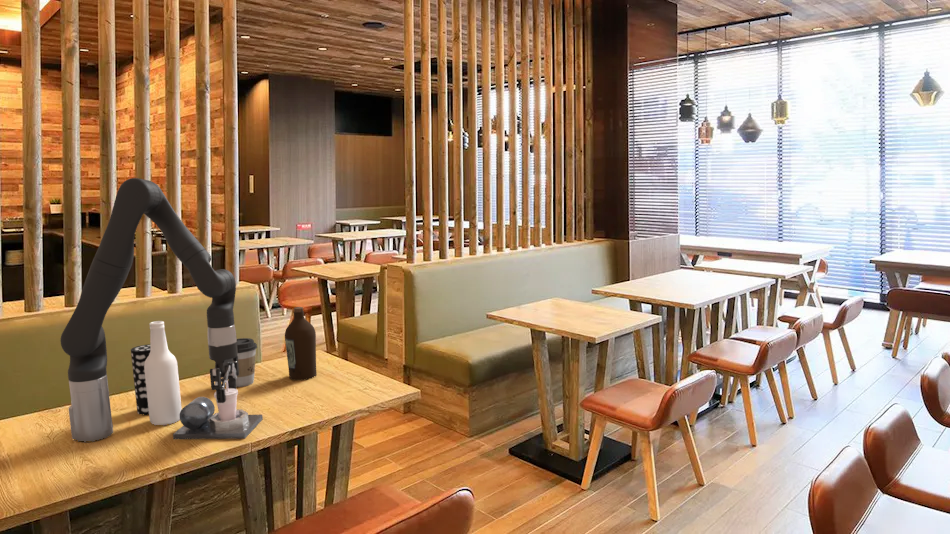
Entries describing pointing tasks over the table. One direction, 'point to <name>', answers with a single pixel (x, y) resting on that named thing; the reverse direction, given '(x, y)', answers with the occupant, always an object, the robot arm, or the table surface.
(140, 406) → the white-spotted black cylinder
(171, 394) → the alcohol
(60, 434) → the table surface
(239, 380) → the coffee cup
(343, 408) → the table surface
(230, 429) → the flat grey tray
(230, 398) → the smoothie
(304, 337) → the olive oil
